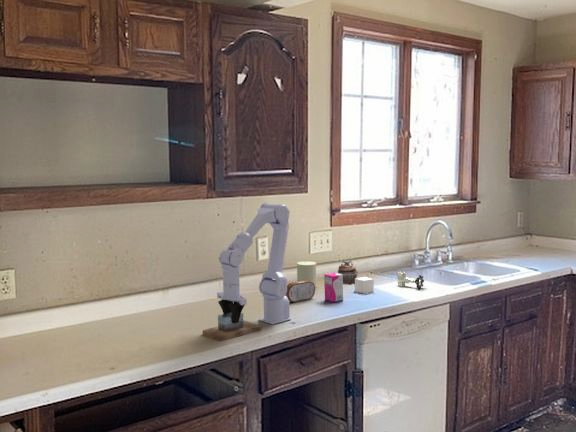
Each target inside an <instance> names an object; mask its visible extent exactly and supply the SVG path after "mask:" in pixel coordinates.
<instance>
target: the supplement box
mask: <svg viewBox="0 0 576 432" xmlns="http://www.w3.org/2000/svg"><path fill="white" fill-rule="evenodd" d="M323 277H324V278H323V279H324V301H326V302H329V303H332V304H334V303H339V302H344V287H343V286H344V283H343V275H342V274H338V272H337V273H336V272H331V273H324V276H323Z"/></svg>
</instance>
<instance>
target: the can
mask: <svg viewBox="0 0 576 432" xmlns="http://www.w3.org/2000/svg"><path fill="white" fill-rule="evenodd" d="M303 280H309V281H311V282H312V283H314V285H315V289H316V288H317V262H315V261H310V260H309V261H307V260H306V261H298V262H296V281H303Z"/></svg>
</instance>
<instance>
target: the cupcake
mask: <svg viewBox="0 0 576 432" xmlns="http://www.w3.org/2000/svg"><path fill="white" fill-rule="evenodd" d="M337 269H338V270H337V273H338V274H342V275H343V284H355V278H358V273H359V271H358V270H357V268H356V266H354V262H353V261H351V260H350V261H344V260H343V261H342V262H341V263H340V265H339V266H338V268H337Z"/></svg>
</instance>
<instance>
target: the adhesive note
mask: <svg viewBox="0 0 576 432" xmlns="http://www.w3.org/2000/svg"><path fill="white" fill-rule="evenodd" d="M374 284H375V283H374V279H373V278H371V277H367V276H362V277H361V276H360V277H357V278H355V283H354V292H357V293H359V294H369V293H374V287H375V286H374Z"/></svg>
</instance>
